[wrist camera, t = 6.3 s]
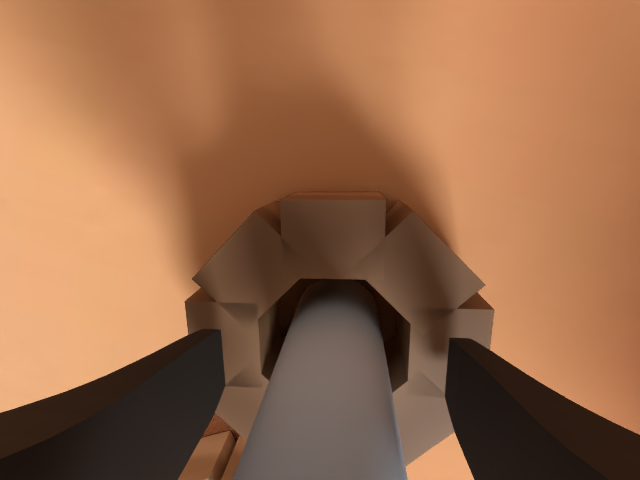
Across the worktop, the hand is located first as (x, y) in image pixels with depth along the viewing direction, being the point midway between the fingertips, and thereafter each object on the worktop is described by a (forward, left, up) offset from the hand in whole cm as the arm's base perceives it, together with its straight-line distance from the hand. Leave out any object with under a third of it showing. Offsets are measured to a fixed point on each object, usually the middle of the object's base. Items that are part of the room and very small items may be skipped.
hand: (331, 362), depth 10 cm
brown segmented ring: (0, 0, -4) cm, 4 cm away
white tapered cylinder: (0, 0, -4) cm, 4 cm away
